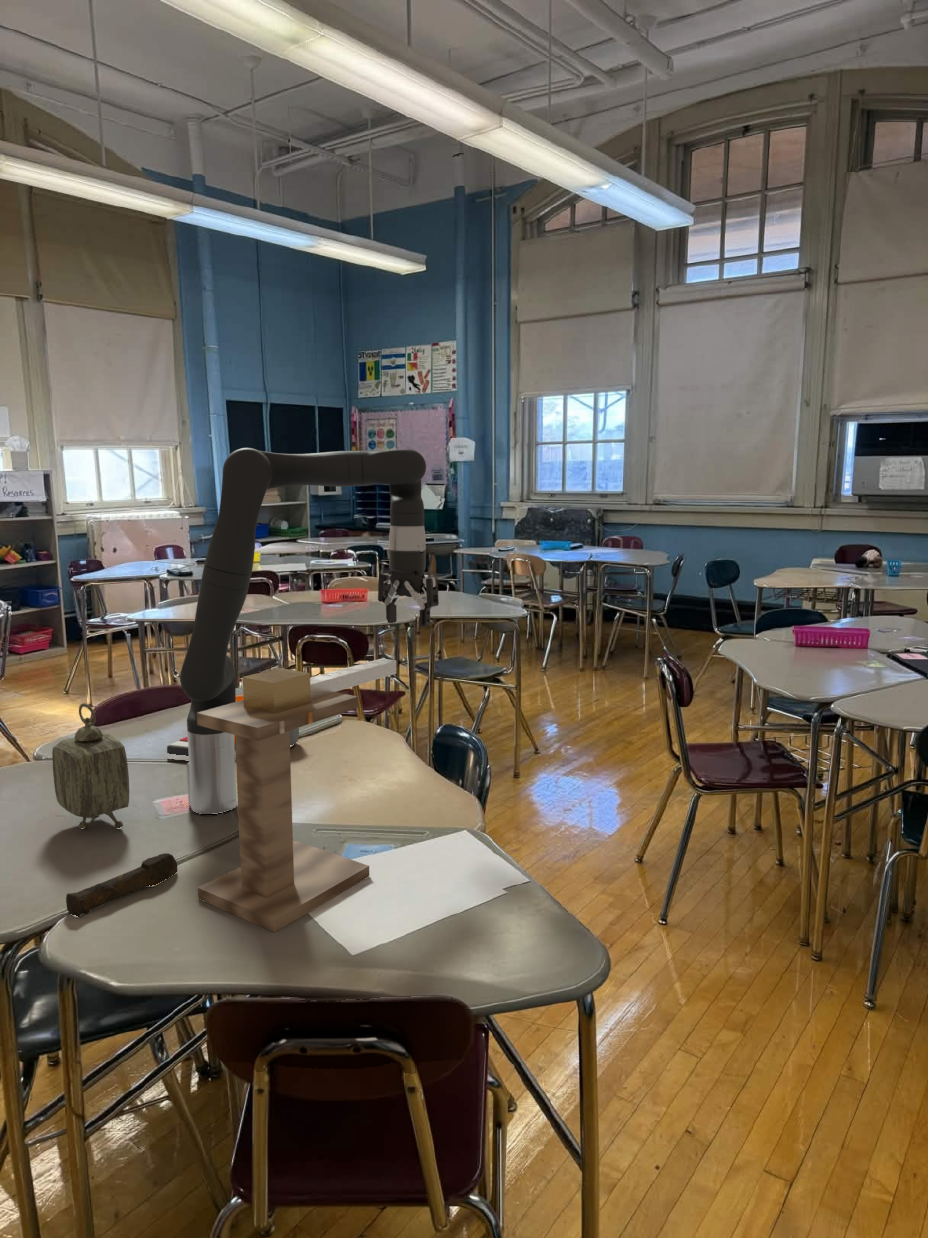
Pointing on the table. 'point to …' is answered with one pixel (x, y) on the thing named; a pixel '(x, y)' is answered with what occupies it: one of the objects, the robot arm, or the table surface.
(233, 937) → the table surface
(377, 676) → the bar
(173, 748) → the red black flat block
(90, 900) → the hand tool
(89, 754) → the tabletop clock
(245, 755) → the stand
